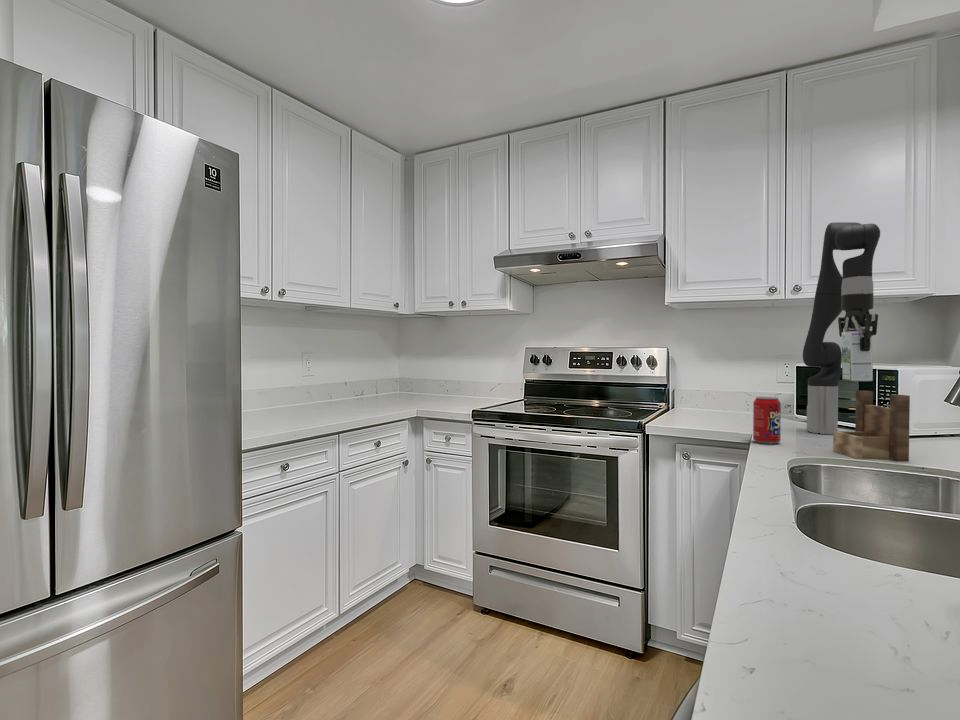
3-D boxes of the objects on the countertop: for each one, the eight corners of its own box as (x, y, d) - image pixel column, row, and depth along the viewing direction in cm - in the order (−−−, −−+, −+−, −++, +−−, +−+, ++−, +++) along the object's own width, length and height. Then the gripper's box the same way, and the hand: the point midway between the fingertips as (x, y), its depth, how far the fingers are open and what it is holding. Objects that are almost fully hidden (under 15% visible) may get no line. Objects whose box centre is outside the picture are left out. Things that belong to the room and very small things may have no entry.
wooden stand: (826, 449, 157) (826, 390, 156) (865, 449, 156) (866, 390, 156) (865, 461, 140) (865, 395, 139) (908, 461, 139) (909, 395, 139)
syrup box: (873, 381, 145) (873, 330, 145) (850, 381, 147) (850, 330, 147) (863, 380, 151) (863, 331, 151) (840, 380, 152) (840, 331, 152)
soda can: (749, 440, 172) (750, 395, 172) (775, 440, 171) (775, 396, 171) (757, 444, 165) (757, 398, 164) (784, 445, 163) (784, 398, 163)
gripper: (828, 296, 156) (828, 351, 156) (860, 290, 142) (860, 351, 142) (854, 296, 156) (854, 351, 156) (888, 290, 141) (888, 350, 141)
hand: (857, 351), depth 149 cm, fingers closed on syrup box, 6 cm apart
